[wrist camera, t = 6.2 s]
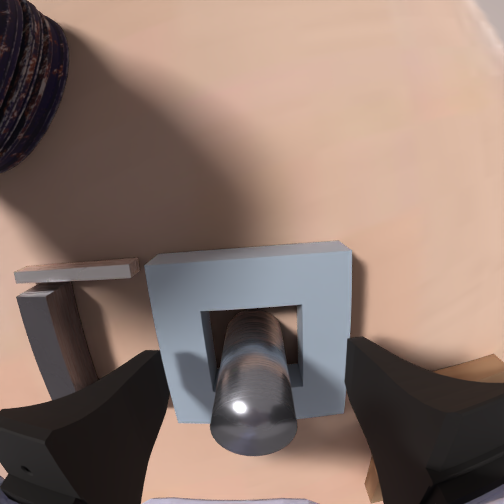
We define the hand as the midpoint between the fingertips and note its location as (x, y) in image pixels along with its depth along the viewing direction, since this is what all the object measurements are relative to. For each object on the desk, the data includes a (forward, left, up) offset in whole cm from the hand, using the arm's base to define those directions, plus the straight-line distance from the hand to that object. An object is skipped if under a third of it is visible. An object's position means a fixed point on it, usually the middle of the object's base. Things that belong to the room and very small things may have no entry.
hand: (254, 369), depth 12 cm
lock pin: (0, 0, -3) cm, 3 cm away
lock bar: (0, +10, -3) cm, 11 cm away
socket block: (0, 0, -3) cm, 3 cm away
